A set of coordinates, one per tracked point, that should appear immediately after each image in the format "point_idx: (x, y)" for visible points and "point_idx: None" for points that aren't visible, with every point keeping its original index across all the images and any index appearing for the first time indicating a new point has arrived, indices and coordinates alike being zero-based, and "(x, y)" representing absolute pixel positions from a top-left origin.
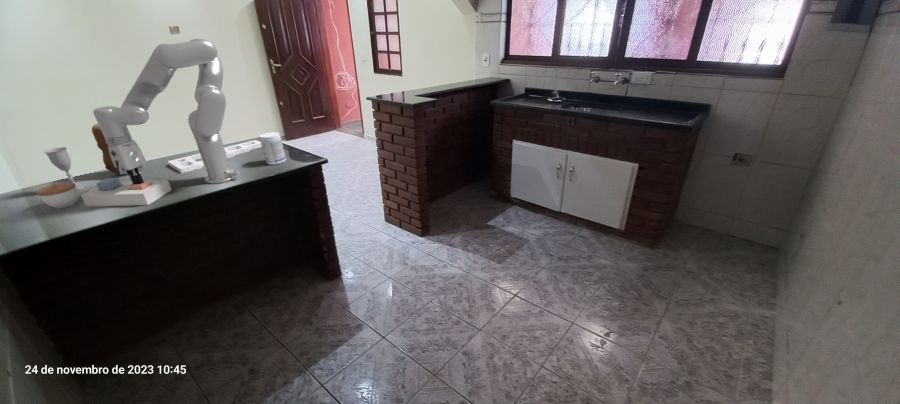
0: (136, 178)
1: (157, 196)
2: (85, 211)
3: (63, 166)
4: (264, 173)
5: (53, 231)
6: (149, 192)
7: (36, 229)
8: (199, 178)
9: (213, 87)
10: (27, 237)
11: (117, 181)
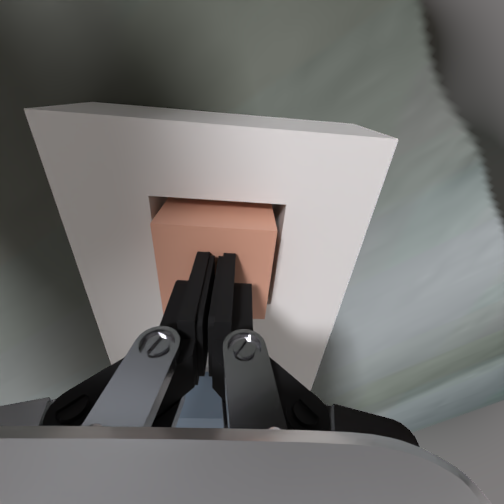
0: (237, 307)
1: (249, 116)
2: (335, 360)
3: None
4: None
5: (487, 352)
6: (317, 130)
7: (436, 394)
8: None
9: None
10: (492, 383)
11: (193, 401)
